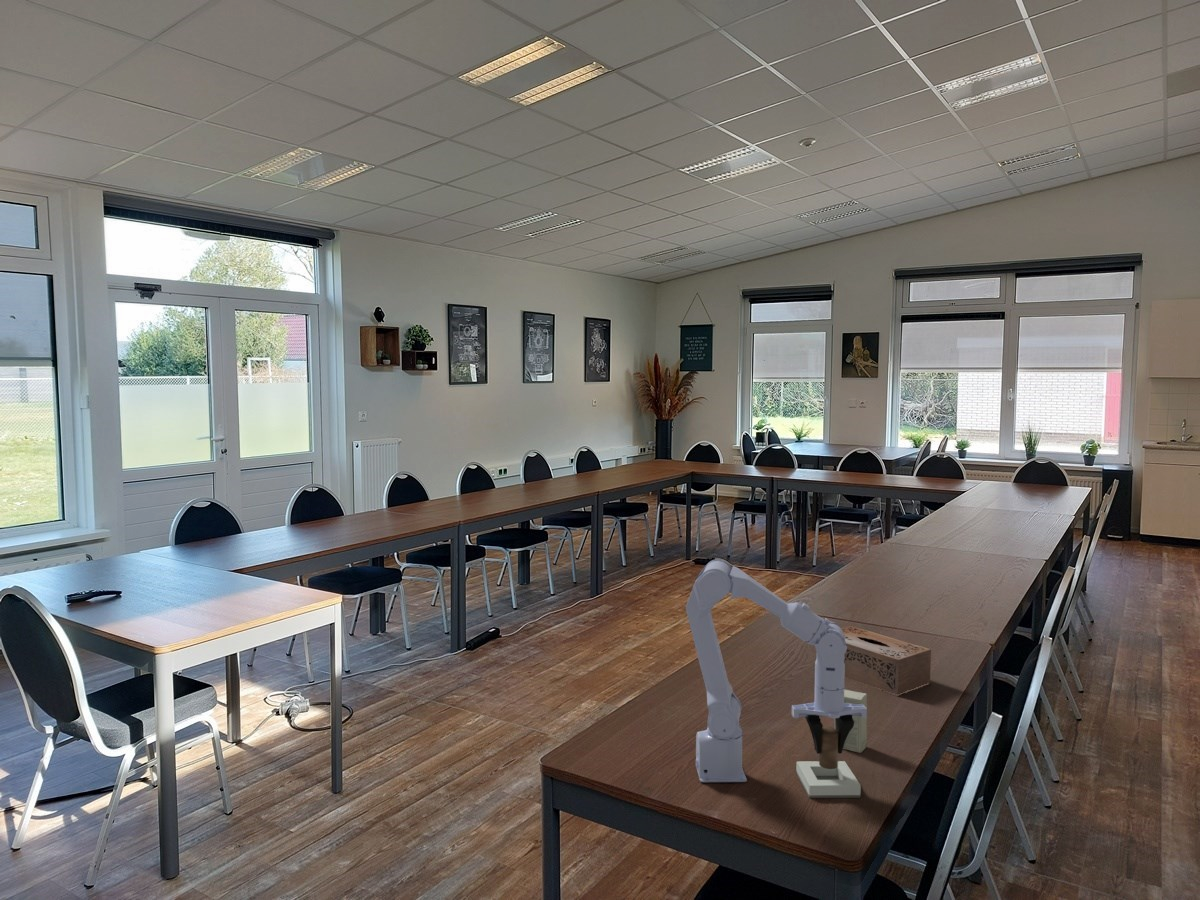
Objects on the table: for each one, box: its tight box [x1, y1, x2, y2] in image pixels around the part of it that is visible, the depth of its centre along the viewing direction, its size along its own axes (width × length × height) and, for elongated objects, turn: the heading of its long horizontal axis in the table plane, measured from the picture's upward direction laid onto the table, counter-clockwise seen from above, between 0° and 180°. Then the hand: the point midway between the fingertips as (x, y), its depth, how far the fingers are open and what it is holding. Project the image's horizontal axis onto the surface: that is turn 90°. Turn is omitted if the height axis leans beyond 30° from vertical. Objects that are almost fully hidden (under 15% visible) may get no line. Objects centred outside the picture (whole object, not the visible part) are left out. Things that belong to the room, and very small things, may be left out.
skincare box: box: [833, 688, 868, 754], centre depth 178 cm, size 6×4×12 cm
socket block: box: [795, 760, 862, 799], centre depth 161 cm, size 10×10×2 cm
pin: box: [818, 726, 839, 769], centre depth 160 cm, size 4×4×7 cm
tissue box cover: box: [840, 625, 932, 695], centre depth 221 cm, size 26×14×10 cm, turn 35°
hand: (828, 751), depth 160 cm, fingers closed on pin, 4 cm apart
